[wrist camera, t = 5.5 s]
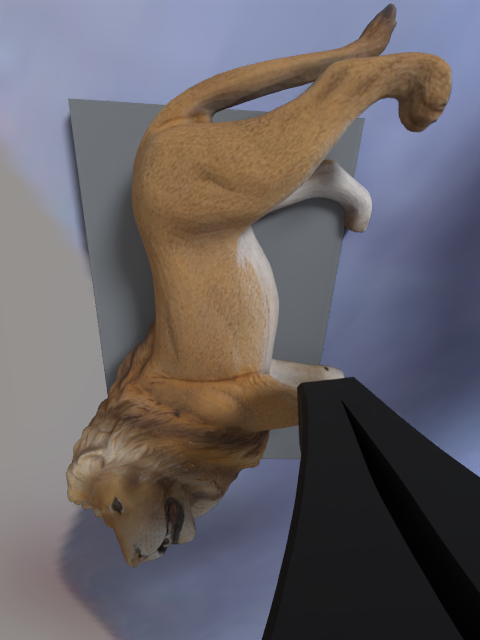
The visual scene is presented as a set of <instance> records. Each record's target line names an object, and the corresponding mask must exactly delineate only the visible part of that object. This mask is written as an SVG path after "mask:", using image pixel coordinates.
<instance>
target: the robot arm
mask: <svg viewBox="0 0 480 640" xmlns="http://www.w3.org/2000/svg"><path fill="white" fill-rule="evenodd" d="M297 401H298V425H299V445H300V451H301V461H300V469H299V477H298V485H297V492H296V498H295V504H294V510H293V515H292V520H291V525H290V530H289V535H288V540H287V545H286V549H285V553H284V557H283V562H282V566H281V570H280V574H279V578H278V583H277V587H276V590H275V594H274V598H273V602H272V606H271V609H270V613H269V617H268V620H267V624H266V627H265V630H264V634H263V637H262V640H480V477H479V476H477V475H476V474H474V473H473V472H472V471H470V470H469V469H467V468H466V467H465V466H463V465H462V464H460V463H459V462H458V461H456V460H455V459H454V458H452V457H451V456H449V455H448V454H447V453H445V452H444V451H443V450H441V449H440V448H439V447H437V446H436V445H435V444H434V443H432V442H431V441H430V440H428V439H427V438H426V437H425V436H423V435H422V434H421V433H420V432H418V431H417V430H416V429H415V428H413V427H412V426H411V425H410V424H408V423H407V422H406V421H405V420H404V419H402V418H401V417H400V416H399V415H398V414H396V413H395V412H394V411H393V410H392V409H390V408H389V407H388V406H387V405H386V404H385V403H383V402H382V401H381V400H380V399H379V398H378V397H376V396H375V395H374V394H373V393H372V392H371V391H369V390H368V389H367V388H366V387H365V386H364V385H362V384H361V383H360V382H359V381H358V380H357V379H355V378H354V377H348V378H339V379H330V380H321V381H312V382H303V383H301V384H300V385H299V386H298V387H297Z"/></svg>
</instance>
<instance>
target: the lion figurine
mask: <svg viewBox="0 0 480 640" xmlns="http://www.w3.org/2000/svg"><path fill="white" fill-rule="evenodd" d="M395 17H396V7H395V6H394V4H389V5H388V6H387V7H385V8H384V9H383V10H382V11H381V12H380V13H379V14H377V15H376V16H375V18H374V19H373V20H372V21H371V22H370V23H369V24H368V25H367V27H366V28H365V30H364V31H363V33H362V35H361V36H360V38H359V39H358V40H356V41H354V42H353V43H351V44H349V45H347V46H345V47H343V48H338V49H334V50H329V51H324V52H315V53H308V54H303V55H297V56H292V57H286V58H280V59H274V60H268V61H264V62H260V63H256V64H252V65H248V66H244V67H240V68H236V69H233V70H230V71H227V72H224V73H220V74H217V75H215V76H213V77H211V78H209V79H207V80H204V81H202V82H200V83H198V84H196V85H194V86H193V87H191V88H189V89H187V90H186V91H184V92H183V93H181V94H180V95H178V96H177V97H175V98H174V99H173V100H171V101H170V102H169V103H168V104H167V105H166V106H164V107H163V109H162V110H161V111H160V112H159V113H158V114H157V115H156V117H155V118H154V119H153V121H152V122H151V123H150V125H149V126H148V128H147V130H146V131H145V133H144V135H143V137H142V140H141V142H140V144H139V147H138V150H137V153H136V156H135V160H134V164H133V178H132V207H133V213H134V217H135V222H136V224H137V227H138V230H139V233H140V236H141V238H142V241H143V244H144V247H145V250H146V253H147V256H148V259H149V263H150V266H151V271H152V276H153V284H154V294H155V309H156V319H155V320H154V321H153V322H152V323H151V325H150V327H149V330H148V333H147V334H146V336H145V338H144V339H143V340H142V341H141V342H140V343H138V344H137V345H136V346H135V347H134V348H133V349H132V351H131V352H130V353H129V354H128V355H127V356H126V357H125V358H124V360H123V362H122V363H121V365H120V367H119V369H118V373H117V378H116V381H115V382H114V384H113V385H112V387H111V388H110V391H109V394H108V398H107V399H105V400H104V401H103V402H102V403H101V404H100V406H99V408H98V411H97V413H96V416H95V417H94V418H93V419H92V421H91V422H90V424H89V426H88V427H86V428H85V429H84V430H83V433H82V437H81V439H80V440H79V441H78V442H77V443H76V444H75V445H74V456H73V460H72V463H71V464H70V465H69V467H68V470H67V472H66V477H67V484H68V492H67V494H68V499H69V501H70V502H74V503H75V504H76V505H80V504H81V505H82V508H84V509H92V510H94V513H95V516H96V517H103V519H104V522H105V524H106V525H107V526H108V527H110V528H113V530H114V532H115V534H116V537H117V539H118V541H119V544H120V546H121V549H122V552H123V555H124V557H125V559H126V562H127V563H128V564H129V566H131V567H136V566H138V565H139V564H140V563H141V562H147V561H151V560H154V559H157V558H159V557H161V556H162V555H163V554H164V553H165V551H166V549H167V546H168V545H171V544H182V543H187V542H190V541H191V540H193V539H194V538H195V536H196V527H195V522H194V518H195V517H199V516H201V515H203V514H205V513H206V512H207V511H208V510H210V509H211V508H213V507H214V506H215V505H216V504H217V503H218V502H219V500H220V499H221V498H222V497H223V496H224V494H225V493H226V491H227V489H228V487H229V485H230V484H231V483H232V482H233V481H234V480H235V479H236V478H237V476H238V474H239V472H240V471H241V470H242V469H244V468H250V467H251V468H253V467H256V466H258V464H259V461H260V460H261V458H262V457H263V454H264V451H265V449H266V446H267V442H268V439H269V432H270V430H272V429H280V428H287V427H292V426H297V425H298V401H297V387H298V386H299V385H300V384H301V383H303V382H312V381H321V380H330V379H339V378H345V377H344V374H343V372H342V371H341V370H339V369H336V368H333V367H330V366H324V365H312V364H302V363H295V362H287V361H281V360H276V359H272V355H273V347H274V341H275V336H276V330H277V325H278V315H279V297H278V291H277V287H276V283H275V279H274V275H273V272H272V269H271V266H270V263H269V261H268V259H267V258H266V256H265V254H264V252H263V250H262V248H261V246H260V244H259V243H258V241H257V239H256V237H255V235H254V232H253V229H252V226H251V225H252V224H253V223H255V222H256V221H257V220H259V219H260V218H262V217H263V216H264V215H266V214H267V213H269V212H272V211H275V210H278V209H280V208H283V207H286V206H288V205H291V204H294V203H297V202H300V201H303V200H306V199H310V198H314V197H320V198H329V199H332V200H334V201H336V202H338V203H339V204H340V205H342V206H343V208H344V211H345V225H346V227H347V228H348V229H349V230H351V231H354V232H364V231H365V230H366V228H367V226H368V223H369V220H370V216H371V211H372V201H371V197H370V194H369V192H368V191H367V190H366V189H365V188H364V187H363V186H362V185H361V184H359V183H358V182H357V181H356V180H355V179H354V178H352V177H351V176H350V175H349V174H348V173H347V172H346V171H345V170H344V169H343V168H342V167H341V166H340V165H339V164H338V163H337V162H335V161H334V160H330V159H328V160H324V158H325V157H326V156H327V155H328V153H329V152H330V151H331V150H332V148H333V147H334V146H335V145H336V144H337V143H338V141H339V140H340V139H341V137H342V136H343V135H344V133H345V132H346V131H347V129H348V128H349V127H350V126H351V125H352V123H353V122H354V121H355V120H356V119H357V118H358V117H359V116H360V115H361V114H362V113H363V112H364V111H365V110H366V109H367V108H368V107H369V106H370V105H372V104H373V103H375V102H376V101H378V100H380V99H384V98H395V99H397V100H398V102H399V118H400V120H401V123H402V124H403V125H404V127H405V128H406V129H407V130H409V131H411V132H421V131H424V130H425V129H426V128H427V127H428V126H429V125H430V124H432V123H434V122H436V120H437V119H438V118H439V117H440V116H441V114H442V112H443V110H444V109H445V107H446V105H447V103H448V101H449V97H450V93H451V89H452V75H451V68H450V66H449V65H448V64H447V63H446V62H445V61H444V60H443V59H441V58H440V57H438V56H436V55H432V54H426V53H419V52H408V53H397V54H389V55H382V56H379V55H380V54H381V53H382V52H383V51H384V50H385V48H386V46H387V45H388V43H389V41H390V38H391V34H392V32H393V30H394V28H395V26H396V24H397V23H396V20H395ZM314 81H315V82H314ZM311 82H314V83H313V84H312V85H311V86H310V87H309V88H308V89H307V90H306V91H305V92H304V93H303V94H301V95H300V96H299V97H297V98H296V99H294V100H292V101H290V102H288V103H287V104H285V105H283V106H280V107H278V108H276V109H274V110H272V111H270V112H268V113H266V114H264V115H261V116H257V117H254V118H250V119H245V120H238V121H230V122H215V123H213V121H212V118H213V116H214V114H215V113H217V112H219V111H222V110H224V109H226V108H230V107H233V106H236V105H238V104H241V103H244V102H247V101H250V100H253V99H256V98H259V97H262V96H265V95H268V94H272V93H275V92H279V91H282V90H285V89H289V88H293V87H298V86H302V85H305V84H308V83H311Z"/></svg>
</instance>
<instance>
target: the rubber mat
mask: <svg viewBox="0 0 480 640" xmlns="http://www.w3.org/2000/svg"><path fill="white" fill-rule="evenodd" d="M68 100H69V108H70V115H71V123H72V130H73V138H74V145H75V153H76V161H77V168H78V176H79V183H80V191H81V198H82V206H83V213H84V221H85V228H86V236H87V243H88V251H89V258H90V266H91V273H92V281H93V288H94V296H95V303H96V311H97V318H98V326H99V333H100V341H101V348H102V356H103V363H104V371H105V378H106V386H107V393H108V394H109V391H110V388H111V387H112V385H113V384H114V382H115V381H116V378H117V373H118V369H119V367H120V365H121V363H122V362H123V360H124V358H125V357H126V356H127V355H128V354H129V353H130V352H131V351H132V349H133V348H134V347H135V346H136V345H137V344H138V343H140V342H141V341H142V340H143V339H144V338H145V336H146V334H147V333H148V330H149V327H150V325H151V323H152V322H153V321H154V320H155V319H156V309H155V294H154V284H153V276H152V271H151V266H150V263H149V259H148V256H147V253H146V250H145V247H144V244H143V241H142V238H141V236H140V233H139V230H138V227H137V224H136V222H135V217H134V213H133V207H132V178H133V164H134V160H135V156H136V153H137V150H138V147H139V144H140V142H141V140H142V137H143V135H144V133H145V131H146V130H147V128H148V126H149V125H150V123H151V122H152V121H153V119H154V118H155V117H156V115H157V114H158V113H159V112H160V111H161V110H162V109H163V107H164V106H166V105H156V104H141V103H126V102H111V101H96V100H81V99H68ZM266 113H268V112H260V111H245V110H230V109H224V110H222V111H219V112H217V113H215V114H214V116H213V118H212V121H213V123H215V122H230V121H238V120H245V119H250V118H254V117H257V116H261V115H264V114H266ZM364 119H365V118H357V119H356V120H355V121H354V122H353V123H352V125H351V126H350V127H349V128H348V129H347V131H346V132H345V133H344V135H343V136H342V137H341V139H340V140H339V141H338V143H337V144H336V145H335V146H334V147H333V148H332V150H331V151H330V152H329V153H328V155H327V156H326V157H325V158H324V160H328V159H330V160H334V161H335V162H337V163H338V164H339V165H340V166H341V167H342V168H343V169H344V170H345V171H346V172H347V173H348V174H349V175H350V176H351V177H352V178H354V174H355V169H356V163H357V158H358V152H359V147H360V141H361V135H362V130H363V124H364ZM251 226H252V229H253V232H254V235H255V237H256V239H257V241H258V243H259V244H260V246H261V248H262V250H263V252H264V254H265V256H266V258H267V259H268V261H269V263H270V266H271V269H272V272H273V275H274V279H275V283H276V287H277V291H278V297H279V315H278V325H277V330H276V336H275V341H274V347H273V355H272V359H276V360H281V361H287V362H295V363H302V364H312V365H320V361H321V356H322V350H323V345H324V339H325V334H326V328H327V323H328V317H329V312H330V306H331V301H332V295H333V290H334V284H335V279H336V273H337V268H338V262H339V257H340V251H341V246H342V240H343V235H344V229H345V211H344V208H343V206H342V205H340V204H339V203H338V202H336V201H334V200H332V199H329V198H320V197H314V198H310V199H306V200H303V201H300V202H297V203H294V204H291V205H288V206H286V207H283V208H280V209H278V210H275V211H272V212H269V213H267V214H266V215H264V216H263V217H262V218H260V219H259V220H257V221H256V222H255V223H253V224H252V225H251ZM261 459H301V451H300V445H299V425H297V426H292V427H287V428H280V429H272V430H270V432H269V439H268V442H267V446H266V449H265V451H264V454H263V457H262V458H261Z"/></svg>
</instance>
